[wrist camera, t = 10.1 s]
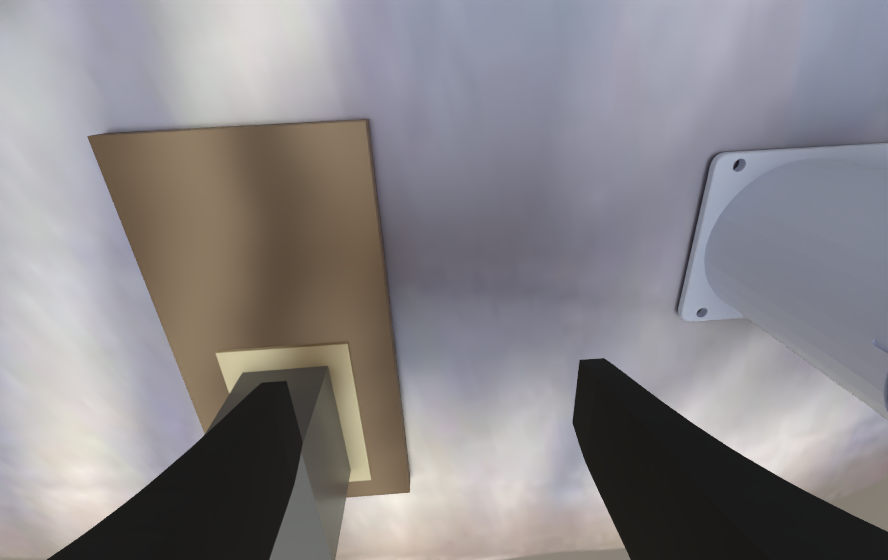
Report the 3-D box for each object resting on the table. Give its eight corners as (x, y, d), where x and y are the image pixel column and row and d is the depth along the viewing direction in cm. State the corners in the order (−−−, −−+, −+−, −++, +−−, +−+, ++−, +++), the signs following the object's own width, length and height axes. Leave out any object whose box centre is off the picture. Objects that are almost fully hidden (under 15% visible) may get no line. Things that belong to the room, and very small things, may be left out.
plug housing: (327, 365, 20) (300, 450, 15) (350, 470, 23) (333, 567, 18) (242, 372, 20) (189, 459, 15) (276, 476, 23) (241, 575, 18)
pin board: (368, 118, 16) (357, 127, 13) (410, 477, 25) (409, 529, 22) (106, 133, 16) (37, 144, 13) (240, 490, 25) (216, 545, 22)
